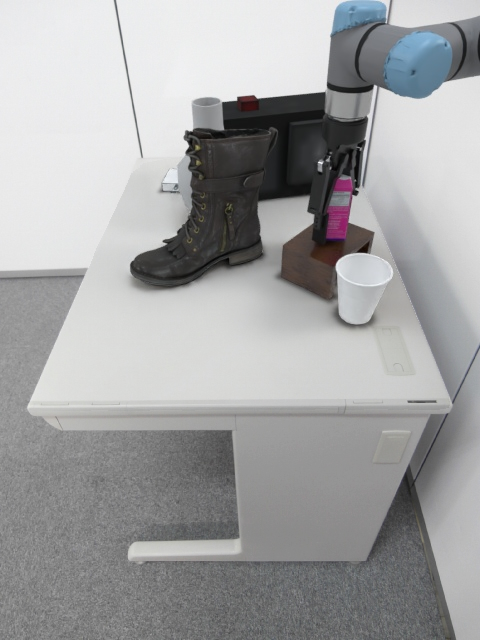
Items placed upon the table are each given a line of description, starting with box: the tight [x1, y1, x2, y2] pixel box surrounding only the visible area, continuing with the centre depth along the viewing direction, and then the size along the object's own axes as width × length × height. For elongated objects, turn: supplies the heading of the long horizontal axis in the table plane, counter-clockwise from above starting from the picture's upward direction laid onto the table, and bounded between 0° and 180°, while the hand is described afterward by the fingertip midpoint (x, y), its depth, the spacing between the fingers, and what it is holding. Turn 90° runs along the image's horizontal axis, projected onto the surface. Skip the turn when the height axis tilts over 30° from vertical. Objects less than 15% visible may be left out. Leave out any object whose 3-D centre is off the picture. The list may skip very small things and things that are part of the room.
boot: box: [129, 127, 278, 287], centre depth 89 cm, size 12×33×29 cm, turn 117°
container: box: [161, 168, 180, 194], centre depth 127 cm, size 20×11×3 cm, turn 173°
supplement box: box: [326, 174, 353, 241], centre depth 85 cm, size 6×6×11 cm
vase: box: [176, 96, 224, 212], centre depth 103 cm, size 17×16×28 cm
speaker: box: [222, 91, 336, 202], centre depth 116 cm, size 15×35×24 cm, turn 104°
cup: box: [336, 253, 394, 325], centre depth 81 cm, size 10×10×11 cm
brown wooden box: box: [280, 221, 376, 300], centre depth 93 cm, size 12×16×8 cm
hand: (330, 232), depth 89 cm, fingers closed on supplement box, 8 cm apart
